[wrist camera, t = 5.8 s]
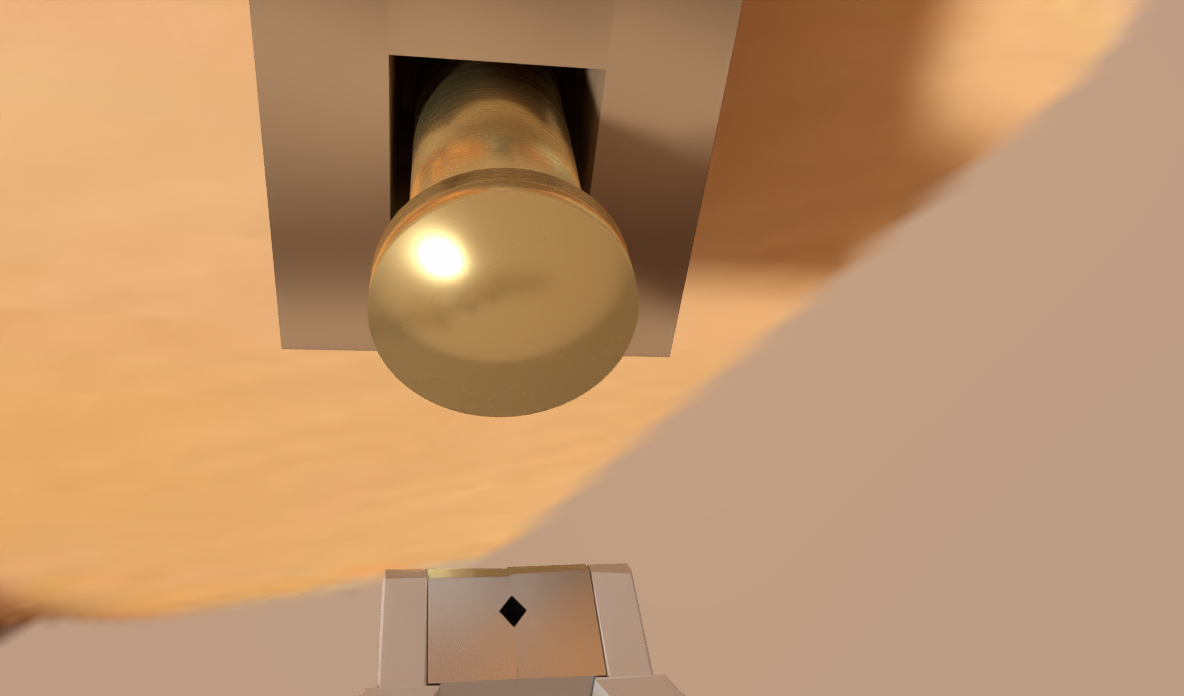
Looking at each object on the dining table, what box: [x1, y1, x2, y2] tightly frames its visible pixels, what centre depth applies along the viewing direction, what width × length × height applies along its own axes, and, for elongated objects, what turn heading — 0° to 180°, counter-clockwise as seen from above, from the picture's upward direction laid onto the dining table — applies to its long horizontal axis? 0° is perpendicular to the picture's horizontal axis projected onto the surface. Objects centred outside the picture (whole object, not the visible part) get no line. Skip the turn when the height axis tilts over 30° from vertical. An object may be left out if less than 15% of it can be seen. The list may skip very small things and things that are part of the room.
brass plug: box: [367, 57, 639, 417], centre depth 21 cm, size 5×5×10 cm
